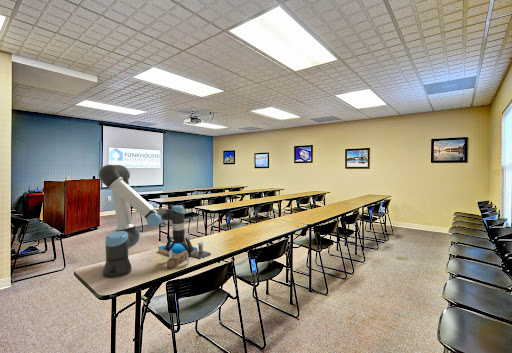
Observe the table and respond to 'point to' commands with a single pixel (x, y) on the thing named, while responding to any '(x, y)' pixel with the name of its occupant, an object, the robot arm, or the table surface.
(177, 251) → the book
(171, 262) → the walnut beam
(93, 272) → the table surface
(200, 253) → the grey post on base
